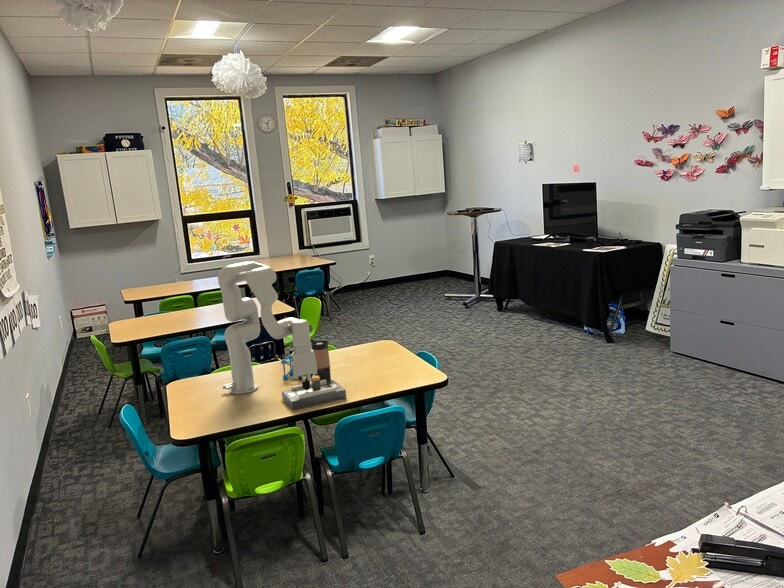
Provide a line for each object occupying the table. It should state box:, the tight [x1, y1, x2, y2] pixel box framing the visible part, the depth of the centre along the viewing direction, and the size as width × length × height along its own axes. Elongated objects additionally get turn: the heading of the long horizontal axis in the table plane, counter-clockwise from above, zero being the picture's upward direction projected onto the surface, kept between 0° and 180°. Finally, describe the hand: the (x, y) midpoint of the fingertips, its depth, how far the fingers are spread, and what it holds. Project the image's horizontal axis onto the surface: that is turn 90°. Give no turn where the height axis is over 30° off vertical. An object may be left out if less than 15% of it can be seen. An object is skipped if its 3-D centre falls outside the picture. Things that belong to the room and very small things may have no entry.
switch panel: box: [281, 379, 347, 411], centre depth 257 cm, size 24×16×5 cm, turn 115°
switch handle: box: [310, 375, 321, 391], centre depth 257 cm, size 3×3×5 cm
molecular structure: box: [280, 354, 301, 381], centre depth 290 cm, size 10×10×10 cm
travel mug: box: [311, 340, 332, 381], centre depth 275 cm, size 8×8×20 cm
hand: (306, 389), depth 256 cm, fingers closed
